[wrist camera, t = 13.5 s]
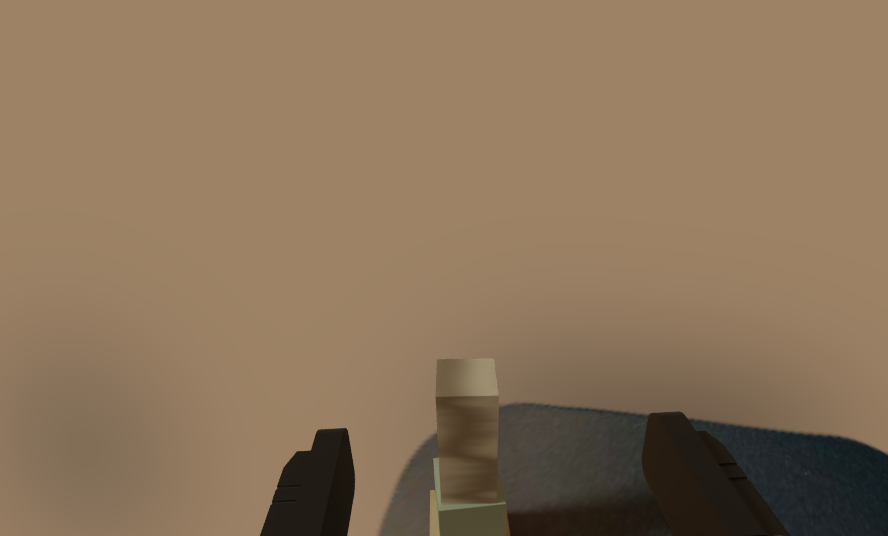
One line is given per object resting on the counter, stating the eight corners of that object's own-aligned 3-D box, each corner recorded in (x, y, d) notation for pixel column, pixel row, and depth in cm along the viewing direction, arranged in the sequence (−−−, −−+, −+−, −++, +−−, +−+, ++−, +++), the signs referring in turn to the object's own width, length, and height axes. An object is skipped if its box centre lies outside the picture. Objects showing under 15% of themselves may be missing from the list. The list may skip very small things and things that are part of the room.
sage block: (493, 491, 46) (493, 452, 44) (505, 544, 41) (505, 503, 39) (435, 497, 46) (433, 458, 44) (441, 552, 41) (438, 511, 39)
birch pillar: (492, 460, 44) (493, 358, 39) (496, 503, 39) (498, 395, 35) (441, 460, 44) (437, 359, 39) (441, 504, 40) (435, 396, 35)
